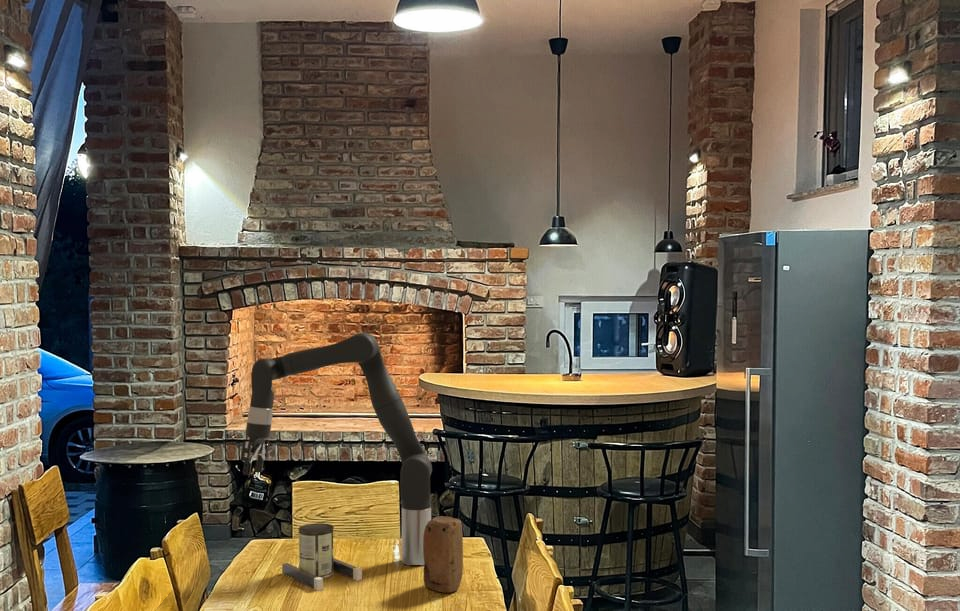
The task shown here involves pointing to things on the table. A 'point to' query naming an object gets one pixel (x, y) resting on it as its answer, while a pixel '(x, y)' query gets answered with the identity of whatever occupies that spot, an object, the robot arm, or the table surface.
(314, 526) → the coffee can
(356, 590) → the table surface
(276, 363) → the robot arm
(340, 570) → the grey parallel rails
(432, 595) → the table surface
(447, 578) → the block
